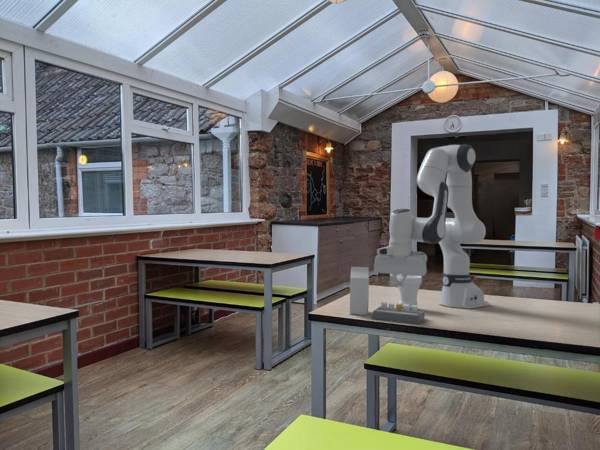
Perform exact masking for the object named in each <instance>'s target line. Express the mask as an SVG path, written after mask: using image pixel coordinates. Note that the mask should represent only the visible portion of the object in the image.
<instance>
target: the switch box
mask: <svg viewBox="0 0 600 450" xmlns="http://www.w3.org/2000/svg"><path fill="white" fill-rule="evenodd" d="M380 305H381V306H379V307H377V308H376V309H374V310H373V311H372V320H380V321H387V322H388V321H389V322H390V321H391V322H394V323H395V322H398V323H406V324H413V325H420V324H421V323H422V322H424V320H425V318H426V317H425V314H426V312H425V310H418V304H417V305H412V306H411V310H410V305H407V304H404V309H402V311H398V310H396V306H395V303H394V302H389V303H388V302H386V301H384V302H383V301H382V302H381V303H380Z"/></svg>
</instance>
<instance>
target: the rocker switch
mask: <svg viewBox="0 0 600 450" xmlns="http://www.w3.org/2000/svg"><path fill="white" fill-rule="evenodd" d="M395 308H396V310H398V311H402V304H399V303H396V304H395Z"/></svg>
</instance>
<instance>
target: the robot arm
mask: <svg viewBox="0 0 600 450" xmlns="http://www.w3.org/2000/svg"><path fill="white" fill-rule="evenodd" d="M476 155H477V153H476V151H475V149H474V147H473V146H472V145H469V144H448V145H443V146H434V147H432V148H429V149H428V150H427V152H426V153H425V155H424V158H423V160H422V162H421V165H420V167H419V170H418V172H417V176H416V183H417V186H418V188H419V189H420V190H421V191H422V192H423V193H425V194H427V195H428V196H431V197H433V198H434V201H433V207H432V213H431V215H430V216H429V217H418V216H416V215H413V213H412V210H411V209H410V208H397V209H395V210H394V209H393V211H391V213H390V218H389V223H388V225H389V226H388V229H389V231H388V233H389V241H388V245H386V246H384V247H380V248H378V249H377V250H376V254H377V255H376V256H375V258H374V263H373V271H374V272H375V273H377V274H390V275H392V279H393V280H394V282H395V283H394V285H395V287H396V286H397V287H398V286H404V281H405V279H406V277H407V275H415V276H421V277H424V276H425V275H426V274H427V272H428V271H427V270H428V269H427V261H428V256H427V254H426V253H425V252H424V251H415V250H413V242H419V243H426V244H432V245H436V244H438V245H439V246H440V250H441V253H442V257H443V272H442V278H441V279H442V280H441V281H442V290H441V295H440V298H439V301H438V304H439V305H441V306H444V307H449V308H458V309H459V308H461V309H468V310H469V309H475V308H480V307H481V308H482V307H487V306H490V302H489V301H486V300H485V293H484V291H483V290H482V289H481V288H480V287H479V286H477V285H476V284H475V283H474V282H473V280H475V281H476V280H477V279H478V276H477V275H476V274H470V266H471V265H470V264H471V263H470V262H471V261H470V256H469V254H468V253H467V252H466V251H464V250H463V248H462V246H461V244H467V245H469V244H478V243H481V242H482V241H483V240H484V238H485V237H486V234H487V232H486V231H487V230H486V226H485V223H483V222H482V221H481V220H480V219H479V218H478V216H477V215H476V212H475V211H474V208H473V199H472V198H473V196H472V195H473V194H472V193H473V179H472V171H471V169H472V168H473V166H474V164H475V162H476V160H477V159H476V158H477V156H476ZM448 209H450V210H451V211H452V212H453V214H454V217H447V211H448ZM400 274H401V275H402V277H404V278H403V279H402V281H398V279H397V276H398V275H400Z"/></svg>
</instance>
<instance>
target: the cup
mask: <svg viewBox="0 0 600 450" xmlns="http://www.w3.org/2000/svg"><path fill="white" fill-rule="evenodd" d="M403 278H404V277H402V275H401V274H398V276H397V279H398V281H402V279H403ZM422 283H423V276H415V275H407V277H406V279H405V281H404V286H397V288H398V293H399V302H398V304H402V309H404V304H407V305H410V310H411V306H412V305H417V306H418V292H419V289H420V286H421V284H422Z"/></svg>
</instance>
